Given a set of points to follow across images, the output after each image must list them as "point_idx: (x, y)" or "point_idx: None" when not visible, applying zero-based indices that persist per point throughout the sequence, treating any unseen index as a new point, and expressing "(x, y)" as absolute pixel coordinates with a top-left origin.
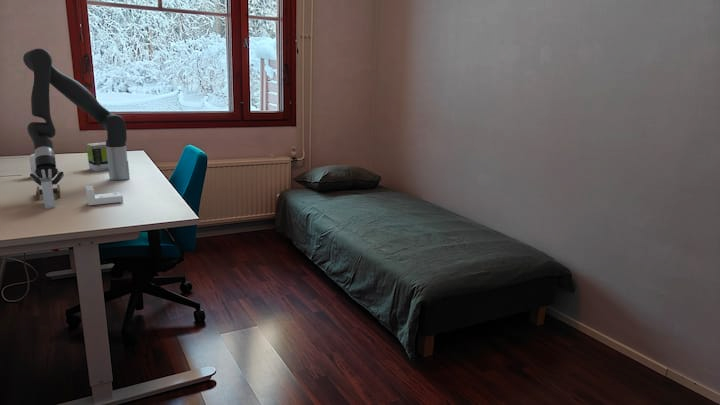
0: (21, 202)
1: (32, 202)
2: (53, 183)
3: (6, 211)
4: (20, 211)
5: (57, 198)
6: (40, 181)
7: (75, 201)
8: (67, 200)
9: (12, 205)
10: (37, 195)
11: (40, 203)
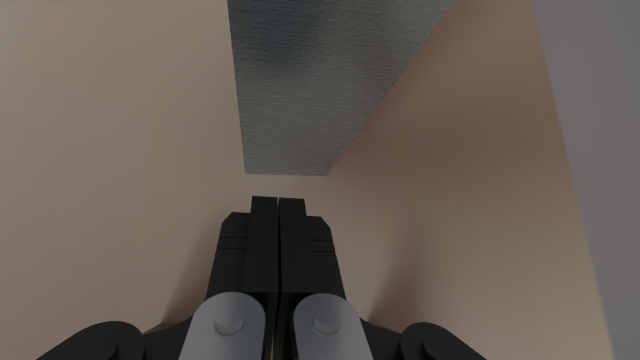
0: (502, 305)
1: (417, 258)
2: (167, 346)
3: (544, 56)
4: (465, 9)
5: None
6: (434, 337)
7: (49, 99)
8: (111, 183)
9: (547, 219)
10: None
11: (353, 181)
